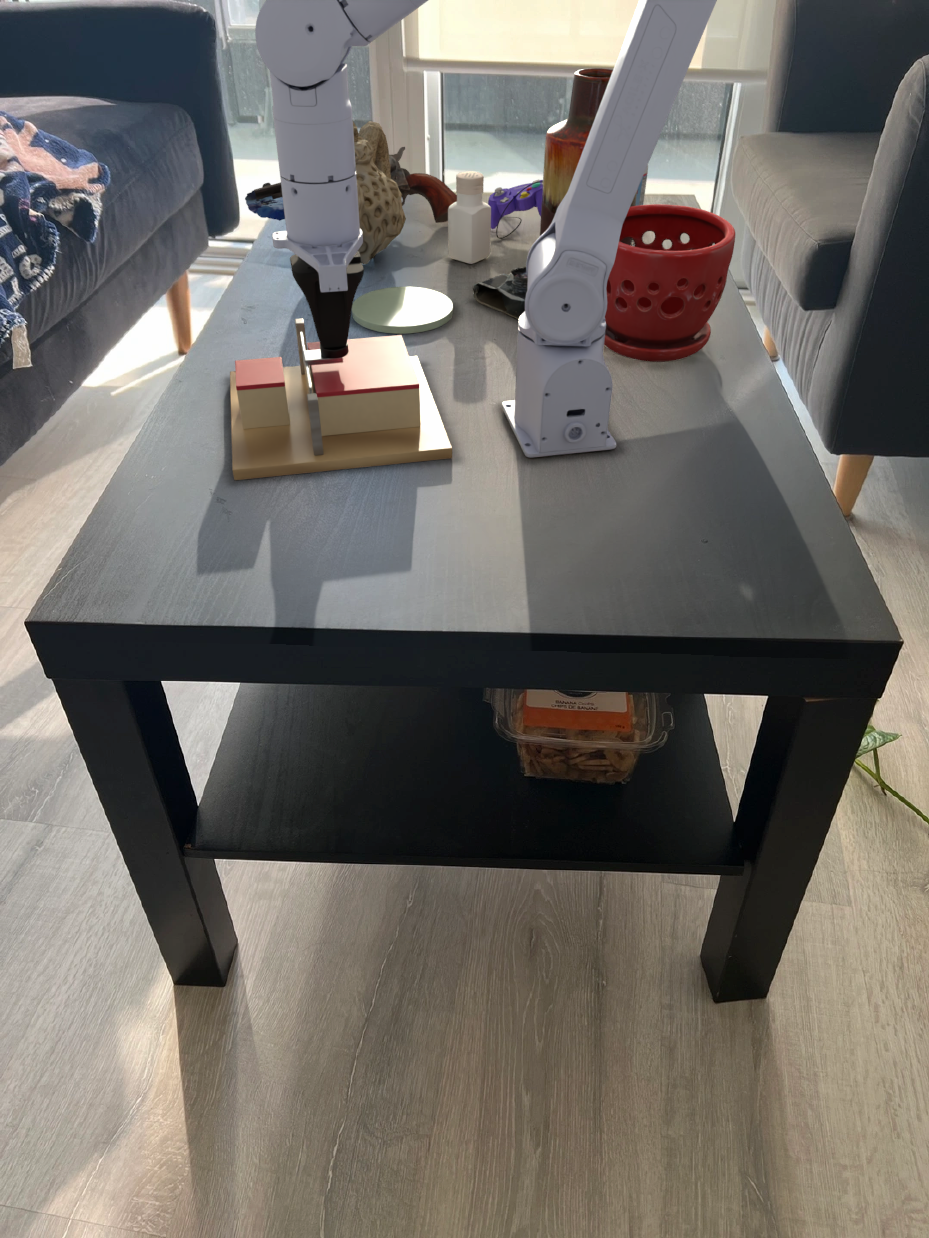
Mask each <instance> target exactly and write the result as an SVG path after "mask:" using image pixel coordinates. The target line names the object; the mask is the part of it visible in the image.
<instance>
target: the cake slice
mask: <svg viewBox="0 0 929 1238" xmlns="http://www.w3.org/2000/svg"><path fill="white" fill-rule="evenodd" d="M283 367H284V364H283V358H282V356H274V357H273V356H272V357H260V358H248V359H237V360H234V369H235V370H234V371H235V372H236V389H237V395H238V401H239V407H240V413H241V419H242V425H243V429H250V428H261V427H272V426H283V425H290V418H289V410H288V402H287V395H286V387H285V379H284V372H283Z"/></svg>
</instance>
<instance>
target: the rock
mask: <svg viewBox="0 0 929 1238" xmlns="http://www.w3.org/2000/svg"><path fill="white" fill-rule="evenodd" d="M254 190H255V189H253V190H251V191H250V192H248V193H246V196H244V197H245V198H244V200H245V205H246V206H247V208H248V210H249V211H250V212H252V213H253V214H256V215H258V216H259V217H260V218H262V219H266V218H267V219H270V220H277V221H280V222H281V221H282V220H285V214H284V205H283V198H282V197H280V198H277V199H273V198H272V196H269V197H266V198H262V199H258V200H257V198H256V195H255V192H254Z"/></svg>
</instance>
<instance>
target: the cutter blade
mask: <svg viewBox="0 0 929 1238" xmlns="http://www.w3.org/2000/svg"><path fill="white" fill-rule="evenodd" d="M300 336H301V345H302V353H303V362H304V370H305V376H306V383H307V389H308V394H312V386H311V380H310V374H309V368H308V365H320V364H332V363H343V357H344V356H346V355H347V354H348V352H349V349H348V343H347V345H346V346H345V347H332V348H322V346H321V344H320V349H318V350H308V349H307V350H306V351H305V345H304V339H303V333H302V332H300Z"/></svg>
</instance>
